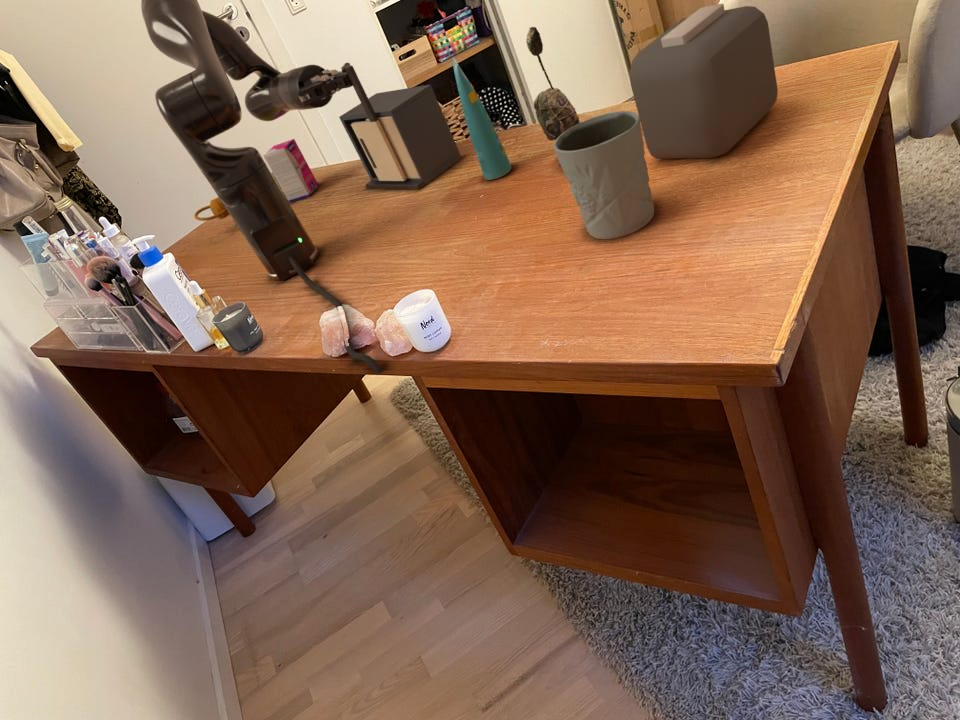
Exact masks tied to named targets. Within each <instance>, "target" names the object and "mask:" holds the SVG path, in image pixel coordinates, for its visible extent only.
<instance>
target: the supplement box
mask: <svg viewBox="0 0 960 720" xmlns="http://www.w3.org/2000/svg"><path fill="white" fill-rule="evenodd" d="M262 158H263V159H264V161H265V163H266V165H267V166H268V168H269V170H270V172H272V173H273V174H274V176H275V178H276V180H277V181H278V183H279V185H280V187H281V188H282V192H283V194H284V195H285V197H286V199H287V200H288V202H289V204H291V203H294V202H297V201H300V200H303V199H306V198H309V197H310V196H311V195H312V194H313V192H314V191H315V190H316V189H317V188H318V187H319V183H318V181H317V179H316V177H315V175H314V174H313V172H312V169H311V168H310V166H309V164H308V162H307V160H306V158H305V156H304V155H303V153H302V151H301V149H300V147H299V145H298V143H297V141H296V139H295V138H293V139H289V140H287V141H283V142H281V143H278V144H275V145H273V146H272V147H271V148H269V150H268V151H266V152H265V153H264V154H263V155H262Z"/></svg>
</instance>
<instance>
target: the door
mask: <svg viewBox="0 0 960 720" xmlns="http://www.w3.org/2000/svg"><path fill="white" fill-rule="evenodd" d="M345 71H346V73H347V75H348V77H349V79H350V81H351V83H352V85H353V86H352V87H353V89H354V91H355V94H356V95H357V97H358V99H359V101H360V103H361V104H362V106H363V108H364V110H365V112H366V114H367V116H368V118H369V120H370V121H362V122H353V123H352V124H351V126H352V128H353V130H354V132H355V134H356V136H357V138H358V140H359V142H360V144H361V146H362V148H363V150H364V152H365V154H366V156H367V158H368V160H369V162H370V164H371V166H372V168H373V169H374V171H375V173H376V175H377V177H378V179H379V181H405V180H406V179H407V178H406V176H405V174H404V172H403V170H402V168H401V166H400V164H399V162H398V160H397V158H396V156H395V153H394V151H393V149H392V147H391V145H390V143H389V141H388V139H387V137H386V135H385V133H384V131H383V128H382V126H381V124H380V122H379V120H378V118H377V116H376V114H375V112H374V110H373V108H372V105H371V103H370V101H369V99H368V98H369V97H368V95H367V93H366V91H365V89H364V87H363V85H362V82H361V81H360V79H359V76H358V74H357V72H356V70H355V68H354V66H353V65H351V66H348V67H346V68H345Z"/></svg>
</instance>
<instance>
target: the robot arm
mask: <svg viewBox="0 0 960 720" xmlns="http://www.w3.org/2000/svg"><path fill="white" fill-rule="evenodd" d="M140 3H141V4H140V5H141V6H140V10H141V14H142V18H143V22H144V24H145V28H146V31H147V34H148V37H149V39H150V41H151V42H152V44H153V45H154V47H155V48H156V49H157V50H158V51H159V52H161V53H162V54H163V55H164V56H166V57H168V58H169V59H171V60H173V61H175V62H177V63H180V64H181V65H185V66H188V67H190V68H193V69H195V70H192V71H191V72H188V73H186V74H184V75H182V76H179V77H178V78H176V79H174V80H172V81H170V82H168V83H167V84H164V85H162V86H161V87H159V88H158V89H157V90H156V91H155V93H154V94H155V95H154V97H155V103H156V106H157V107H158V111H159V112H160V114H161V116H162V118H163V119H164V122H165V123H166V124H167V125H168V127H169V128H170V130H171V131H172V133H173V135H175V136H176V138H177V140H178V141H179V142H180V143H181V144H182V146H183V148H185V151H186V152H187V153H188V154H189V156H190V157H191V159H192V160H193V161H194V163H195V164H196V166H197V168H198V169H199V171H200V173H202V175H203V176H204V178H205V179H206V180H207V182H208V183H209V186H211V188H212V189H213V191H214V192H215V194H216V195H217V198H218V197H219V198H220V200H221V201H222V203H223V204H224V206H225V208H226V209H227V211H228V212H229V214H230V215H229V216H230V217H231V218H232V220H233V221H234V223H235V224H236V226H237V228H238V229H239V231H240V232H241V234H242V235H243V237H244V238H245V240H246V241H247V243H248V244H249V246H250V247H251V249H252V251H253V252H254V254H255V255H256V257H257V258H258V260H259V261H260V263H261V265H262V266H263V267H264V269H265V270H266V272H267V274H268V276H269V278H270V279H271V280H274V281H280V282H283V281H285V280H287V279H289V278H291V277H293V276H295V275H296V274H298V275H299V276H300V278H301V279H302V280H303V281H304V282H305V283H306V284H307V285H308V286H309V288H311V289H312V290H313V291H315V292H317V293H318V294H320V295H321V296H322V297H324V298H325V299H327V300H328V301H329V302H331V303H332V304H333V305H334V306H335V308H336V309H337V307H338V306H343V304H342V303H341V302H340V300H339V299H338V298H337V297H336V296H334V295H333V294H331V293H330V292H328V291H327V290H326V289H325V288H323V287H322V286H319V285H318V284H316V283H315V282H314V281H313V280H312V279H311V278H310V277H309V276H308V275H307V274H306V272H305V271H304V270H306V269H308V268H309V267H311V266H313V265H314V261H315V260H316V259H317V258H318V256H319V254H320V251H319V249H318V247H317V246H316V245H315V243H314V242H313V241H312V239H311V237H310V236H309V234H308V232H307V231H306V229H305V227H304V226H303V224H302V222H301V220H300V219H299V217H298V215H297V213H296V212H295V210H294V209H293V206H291V203H289V201H288V199H287V197H286V195H285V194H284V192H283V190H281V189H280V187H279V185H278V183H277V182H276V180H275V178H274V177H273V175H272V173H273V172H272V171H271V169H270V167H269V165H268V164H267V162H266V160H265V159H264V157H263V155H261V153H260V152H259V150H258V149H257V148H256V147H253V146H241V147H222V146H217V145H214V144H213V143H212V142H210V141H209V140H211V139H213V138H215V137H217V136H219V135H221V134H223V133H225V132H227V131H229V130H231V129H232V128H234V127H235V126H237V125H238V124H239V123H240V122H241V120H242V116H243V112H242V108H241V103H240V101H239V98H238V96H237V94H236V91H235V89H234V87H233V85H232V83H231V80H230V79H232V80H233V81H235V82H236V81H237V82H238V81H242V80H245V79H246V78H247V77H249V76H250V75H252V74H255V75H257V76H258V77H259V78H258V79H257V80H256V82H255V83H254V84H253V85H252V86H251V87H250V88H249V90H248V91H247V92H246V94H245V96H244V105H245V108H246V110H247V111H248V112H249V114H250V115H251V116H253V118H255V119H257V120H259V121H262V122H273V121H275V120H277V119H279V118H281V117H282V116H285V115H286V114H287V113H289V112H290V111H297V110H298V111H299V110H300V111H306V110H313V109H319V108H323V107H325V106H327V105H328V104H329V103H330V102H331V101H332V98H333V96H334V95H335V94H336V93H337V92H341V90H343V89H348V88H351V87H353V85H352V83H351V81H350V79H349V77H348V75H347V73H346V71H345V68H346V67H348V66H352V65H351V63H350V62H345V63H344V64H343V66H341V67H340V69H341V70H340V71H339V70H337V69H325V68H324V67H322V66H321V65H318V64H308V65H304V66H300V67H296V68H292V69H290V70H288V71H286V72H281V71H279V70H278V69H276V68H275V67H273V66H272V65H271V64H269V63H268V62H267V61H266V60H264V59H263V58H262V57H261V56H259V55H258V54H257V53H256V52H255V51H254V50H253V49H252V48H251V47H250V45H248V43H247V42H246V41H245V40H244V39H243V37H242V36H241V35H240V33H238V31H237V30H236V29H235V28H234V27H233V26H232V25H230V23H228V22H227V21H226V20H224V19H223V18H220V17H219V16H216V15H214V14H212V13H211V12H208V11H205V10H202V9H201V6H200V3H199V1H198V0H141V2H140ZM229 78H230V79H229ZM271 172H272V173H271ZM351 338H352V337H350V338H349V339H348V343H349V346H347V347H346V345H345V341H344V340H343V344H344V348H345V351H346V353H347V355H348V356H349V357H350V358H351V359H352V360H355V361H359V362H363V363H365V364H366V365H368V366H369V367H370V368H371V369H372V371H374V372H375V373H374V374H377V375H378V374H379V375H380V374H381V373H383V368H382V367H381V366H380V364H379V363H378V362H377V361H376V360H375V358H374V359H373V358H372V357H371V356H370V355H367V354H365V353H359V352H356V350H355V349H354V347H353V345H352V339H351Z"/></svg>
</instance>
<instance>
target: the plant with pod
mask: <svg viewBox="0 0 960 720" xmlns="http://www.w3.org/2000/svg"><path fill="white" fill-rule="evenodd" d="M525 41H526V47H527V49H528V51H529V52H530V54H531V55H532V56H534V57H537V60H538V63H539V65H540V67H541V69H542V71H543V73H544V75H545V78H546V80H547V82H548V84H549V87H548V88H546V89H545V90H543V91H540V92H539V94H537V96H536V97H535V99H534V100H533V108H534V110H535V116H536V119H537V122H538V123H539V126H540V127H541V129H542V132H543V134H544V135H545V136H546V139H547V140H549V141H551V142H552V141H555V140H556V139H557V138H558V137H559V136H560V135H561V134H562V133H563V132H565V131H566V130H568V129H570V128H571V127H573V126H575V125H577V124H579V123H581V122H580V117H579V115H578V113H577V110H576V108H575V106H574V105H573V104H572V103H571V101H570V100H569V98H568V97H567V95H566V94H565V93H564V92H562V90H561V89H560V88H558V87H557V88H556V87H554V86H553V84H552V81H551V80H550V78H549V76H548V74H547V71H546V69H545V67H544V64H543V62H542V61H543V60H542V58H541V54H542V53H543V50H544V44H543V41H542V37H541V33H540V32H539V30H538V29H537V27H536V26H531V27H529V28H528V31H527V34H526V39H525ZM555 161H556V162H557V164H558V166H559V167H561V168H562V166H561V164H560V162H559V159H558V157H557V158H555Z"/></svg>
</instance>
